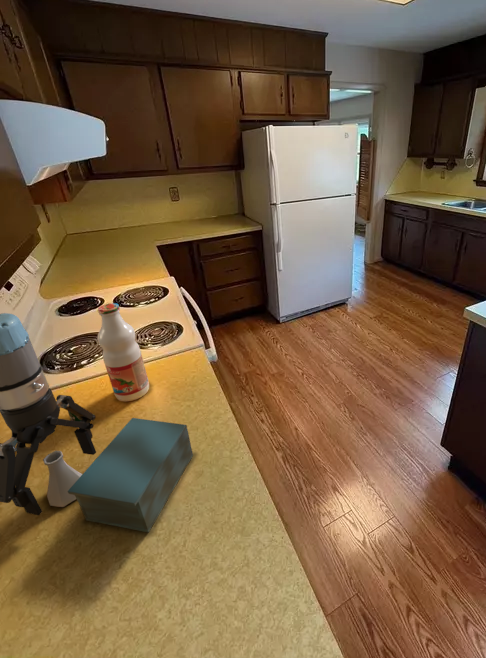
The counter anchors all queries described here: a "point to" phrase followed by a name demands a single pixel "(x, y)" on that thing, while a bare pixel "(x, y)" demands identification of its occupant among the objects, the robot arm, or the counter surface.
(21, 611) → the counter surface
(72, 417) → the beer can
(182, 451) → the chest
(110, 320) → the fruit juice
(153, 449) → the lid
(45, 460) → the flask
